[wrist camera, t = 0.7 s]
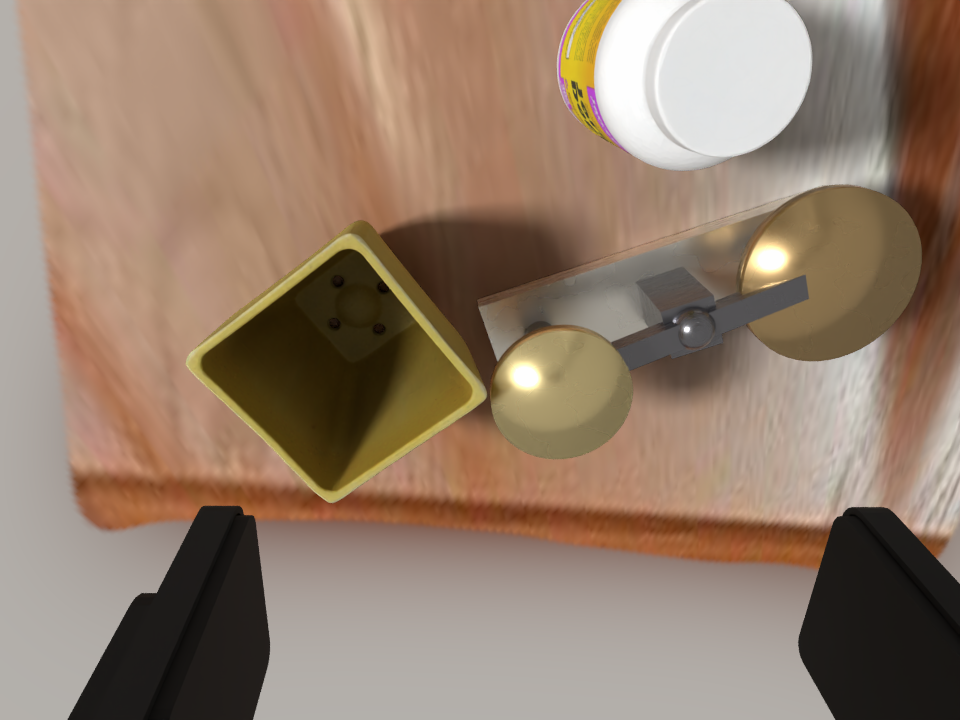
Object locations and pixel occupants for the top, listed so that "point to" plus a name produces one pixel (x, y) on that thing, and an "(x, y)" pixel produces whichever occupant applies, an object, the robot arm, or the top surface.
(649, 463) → the top surface
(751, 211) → the balance
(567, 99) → the supplement bottle
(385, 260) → the flower pot
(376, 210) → the top surface
